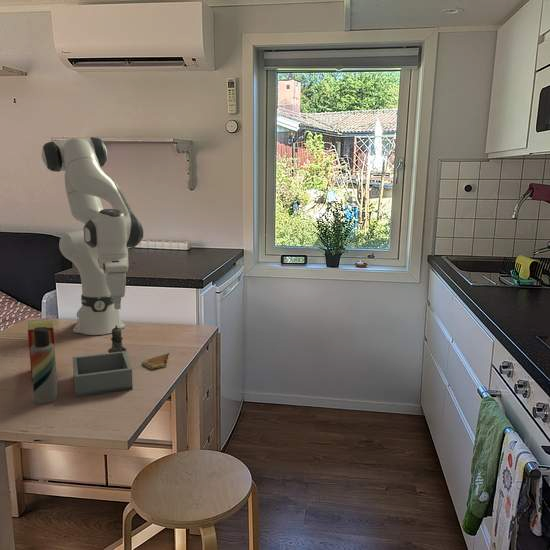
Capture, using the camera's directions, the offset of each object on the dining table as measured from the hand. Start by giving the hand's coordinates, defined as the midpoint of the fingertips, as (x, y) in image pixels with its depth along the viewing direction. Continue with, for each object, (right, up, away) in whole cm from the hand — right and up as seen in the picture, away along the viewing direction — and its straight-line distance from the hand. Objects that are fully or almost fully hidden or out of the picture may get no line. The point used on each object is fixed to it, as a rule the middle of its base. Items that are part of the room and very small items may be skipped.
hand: (115, 305), depth 154 cm
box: (0, -22, -13) cm, 25 cm away
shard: (+12, -20, +3) cm, 23 cm away
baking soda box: (-19, -20, -8) cm, 29 cm away
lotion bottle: (-11, -24, -24) cm, 35 cm away
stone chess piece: (-1, -18, +4) cm, 19 cm away
